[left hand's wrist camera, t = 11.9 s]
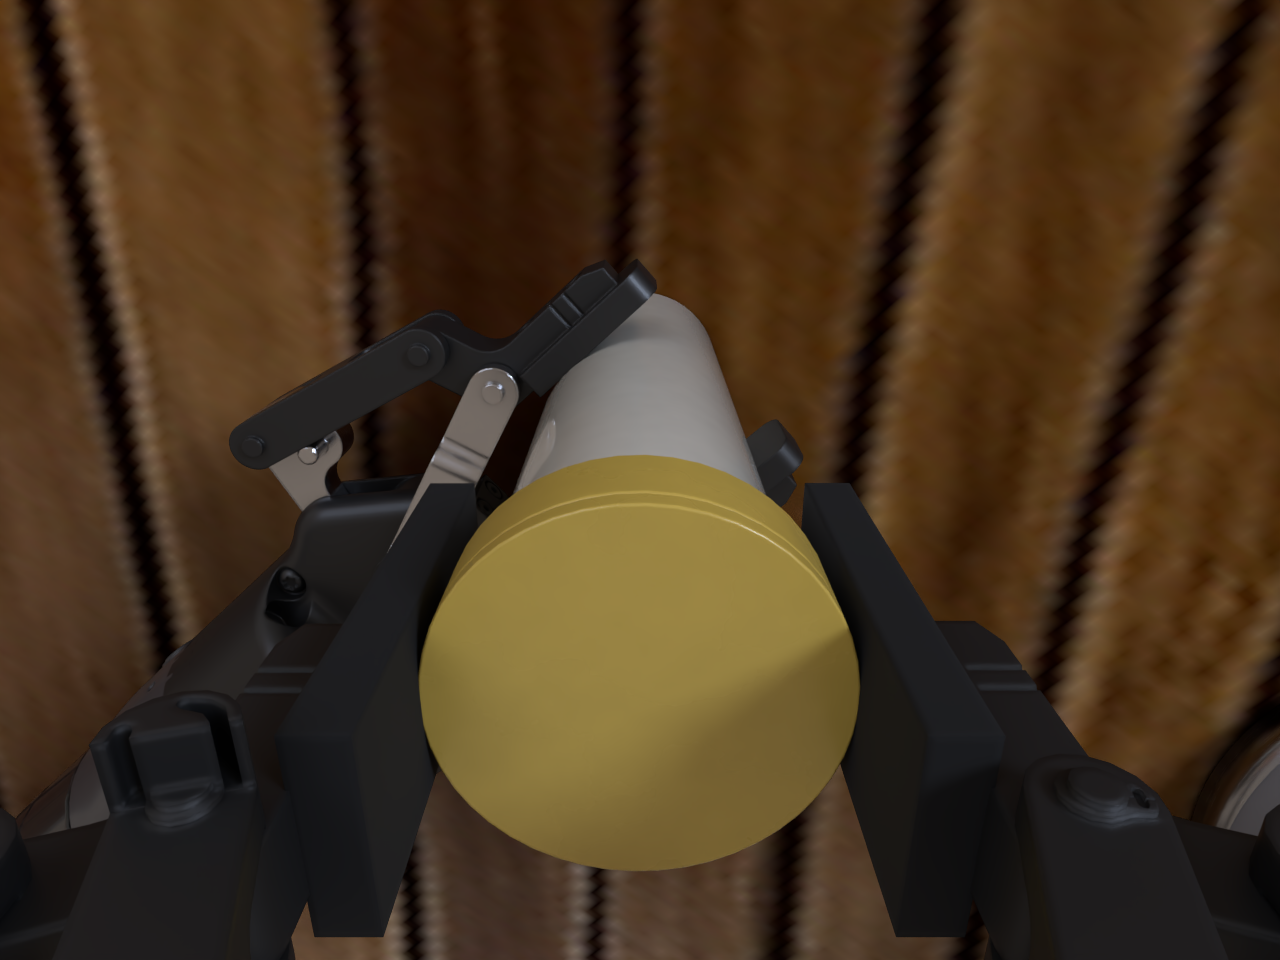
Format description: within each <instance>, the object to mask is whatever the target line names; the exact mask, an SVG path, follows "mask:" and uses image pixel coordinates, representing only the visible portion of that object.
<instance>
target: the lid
mask: <svg viewBox="0 0 1280 960" xmlns="http://www.w3.org/2000/svg"><path fill="white" fill-rule="evenodd" d="M418 682H419V692H420V701H421V709H422V717H423V725H424V731H425V734H426V737H427V740H428V743H429V746H430V748H431V750H432V752H433V754H434V756H435V758H436V760H437V762H438V764H439V766H440V768H441V770H442V771H443V773H444V774H445V776H446V777H447V778H448V780H449V781H450V783H451V784H452V786H453V787H454V789H455V790H456V791H457V792H458V793H459V794H460V795H461V796H462V797H463V799H464V800H465V801H466V802H467V803H468V804H469V805H470V806H471V807H472V808H473V809H474V810H475V811H476V812H478V813H479V814H480V815H481V816H482V817H483V818H485V819H486V820H487V821H488V822H489V823H491V824H492V825H494V826H495V827H497V828H498V829H500V830H501V831H502V832H504V833H505V834H507V835H508V836H510V837H512V838H514V839H516V840H517V841H519V842H521V843H523V844H525V845H527V846H529V847H531V848H533V849H535V850H538V851H540V852H543V853H545V854H548V855H550V856H553V857H556V858H559V859H562V860H566V861H570V862H573V863H577V864H580V865H585V866H591V867H597V868H603V869H611V870H624V871H657V870H667V869H675V868H683V867H688V866H693V865H697V864H701V863H706V862H710V861H713V860H716V859H719V858H722V857H725V856H728V855H731V854H734V853H736V852H738V851H741V850H743V849H745V848H747V847H749V846H751V845H754V844H756V843H758V842H760V841H761V840H763V839H765V838H766V837H768V836H770V835H771V834H773V833H775V832H776V831H778V830H780V829H781V828H782V827H783V826H785V825H786V824H787V823H789V822H790V821H791V820H793V819H794V818H795V817H796V816H798V815H799V814H800V813H801V812H802V811H803V810H804V809H805V808H806V807H807V806H808V805H809V804H810V803H811V802H812V801H813V800H814V799H815V798H816V797H817V796H818V795H819V794H820V792H821V791H822V790H823V788H824V787H825V786H826V785H827V783H828V782H829V781H830V779H831V778H832V777H833V775H834V773H835V771H836V770H837V768H838V766H839V765H840V763H841V761H842V759H843V758H844V756H845V753H846V751H847V748H848V746H849V743H850V741H851V738H852V736H853V732H854V728H855V724H856V719H857V713H858V705H859V696H860V672H859V661H858V657H857V653H856V649H855V645H854V640H853V637H852V634H851V632H850V630H849V627H848V625H847V623H846V620H845V618H844V615H843V613H842V611H841V608H840V606H839V604H838V602H837V599H836V597H835V595H834V592H833V590H832V588H831V585H830V583H829V581H828V578H827V576H826V574H825V571H824V569H823V567H822V564H821V562H820V560H819V557H818V555H817V553H816V552H815V550H814V548H813V547H812V545H811V544H810V542H809V540H808V539H807V537H806V535H805V534H804V533H803V531H802V530H801V529H800V528H799V527H798V525H797V524H796V523H795V522H794V521H793V519H792V518H791V517H790V516H789V515H788V514H787V513H786V512H785V511H784V510H783V509H781V508H780V507H779V506H778V505H777V504H776V503H775V502H774V501H773V500H772V499H770V498H769V497H767V496H766V495H765V494H763V493H762V492H760V491H759V490H757V489H756V488H754V487H753V486H751V485H750V484H748V483H746V482H744V481H742V480H740V479H738V478H736V477H734V476H732V475H730V474H728V473H726V472H724V471H721V470H718V469H715V468H713V467H710V466H707V465H704V464H701V463H697V462H693V461H688V460H683V459H679V458H674V457H665V456H654V455H623V456H613V457H606V458H600V459H594V460H589V461H585V462H582V463H578V464H575V465H571V466H568V467H564V468H562V469H560V470H558V471H555V472H553V473H551V474H548V475H546V476H544V477H541V478H539V479H538V480H536V481H534V482H533V483H531V484H529V485H527V486H526V487H524V488H522V489H521V490H519V491H517V492H516V493H515V494H514V495H512V496H511V497H510V498H509V499H507V500H506V501H505V502H504V503H502V504H501V505H500V506H499V507H497V508H496V509H495V510H494V512H493V513H492V514H491V515H490V516H489V517H488V518H487V519H486V520H485V521H484V522H483V523H482V524H481V525H480V527H479V528H478V529H477V531H476V532H475V534H474V535H473V537H472V538H471V539H470V541H469V542H468V544H467V545H466V547H465V549H464V551H463V553H462V555H461V557H460V559H459V561H458V563H457V565H456V567H455V569H454V571H453V574H452V576H451V578H450V581H449V583H448V585H447V587H446V590H445V592H444V594H443V597H442V599H441V601H440V603H439V606H438V608H437V610H436V613H435V615H434V617H433V619H432V622H431V624H430V626H429V629H428V632H427V635H426V639H425V642H424V645H423V648H422V652H421V658H420V665H419V671H418Z"/></svg>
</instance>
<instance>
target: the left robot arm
mask: <svg viewBox="0 0 1280 960" xmlns="http://www.w3.org/2000/svg"><path fill="white" fill-rule="evenodd" d="M477 529H478V520H477V508H476V496H475V483H430V484H429V486H428V488H427V489H426V491H425V493H424V494H423V496H422V497H421V499H420V501H419V502H418V504H417V505H416V507H415V509H414V510H413V512H412V514H411V515H410V517H409V518H408V520H407V522H406V523H405V525H404V527H403V528H402V530H401V531H400V533H399V535H398V536H397V538H396V539H395V541H394V543H393V544H392V546H391V548H390V549H389V551H388V552H387V554H386V556H385V557H384V559H383V560H382V562H381V564H380V565H379V567H378V569H377V570H376V572H375V573H374V575H373V577H372V578H371V580H370V581H369V583H368V585H367V586H366V588H365V590H364V591H363V593H362V594H361V596H360V598H359V599H358V601H357V603H356V604H355V606H354V607H353V609H352V611H351V612H350V614H349V615H348V617H347V619H346V620H345V622H344V624H304V625H303V626H302V627H300V628H299V629H297V630H296V631H294V632H293V633H291V634H290V635H289V636H287V637H286V638H284V639H283V640H281V641H280V642H278V643H277V644H276V645H275V646H274V647H273V649H272V650H271V652H270V653H269V654H268V656H267V657H266V658H265V660H264V661H263V663H262V664H261V665H260V667H259V668H258V673H254V675H253V676H252V678H251V679H250V680H249V682H248V683H247V684H246V686H245V687H244V692H243V693H240V694H239V695H238V697H237V698H236V700H234V699H233V698H232V697H231V696H229V695H228V694H223V693H219V692H214V691H210V690H198V691H181V692H177V693H173V694H169V695H165V696H161V697H157V698H153V699H151V700H149V701H147V702H144V703H142V704H140V705H138V706H135V707H133V708H131V709H129V710H126V711H125V712H123V713H122V714H121V715H119V716H118V717H116V718H115V719H113V720H112V721H111V722H109V723H108V724H106V725H105V726H104V727H103V728H102V729H101V730H100V731H99V733H98V734H97V735H96V737H95V738H94V739H93V740H92V742H91V743H90V744H89V747H90V750H91V753H92V757H93V760H94V763H95V766H96V770H97V773H98V776H99V779H100V783H101V786H102V789H103V792H104V796H105V799H106V802H107V806H108V809H109V812H110V815H109V817H108V819H106V820H103V821H99V822H96V823H92V824H89V825H85V826H80V827H76V828H71V829H67V830H62V831H58V832H54V833H49V834H45V835H40V836H36V837H32V838H27V839H22V836H21V833H20V831H19V828H18V825H17V822H16V820H15V818H14V817H13V816H12V815H10V814H9V813H8V812H6V811H5V810H4V809H3V808H0V960H295V954H294V949H293V944H292V940H291V936H292V934H293V932H294V929H295V927H296V925H297V923H298V920H299V918H300V916H301V914H302V911H303V909H304V907H305V904H306V902H308V907H309V912H310V917H311V922H312V927H313V932H314V937H383V936H384V933H385V930H386V927H387V924H388V921H389V918H390V915H391V912H392V909H393V906H394V902H395V899H396V896H397V893H398V890H399V887H400V884H401V881H402V878H403V875H404V871H405V868H406V865H407V862H408V859H409V856H410V853H411V850H412V847H413V844H414V841H415V837H416V834H417V831H418V828H419V825H420V822H421V819H422V816H423V813H424V810H425V807H426V803H427V800H428V797H429V794H430V791H431V788H432V785H433V782H434V779H435V776H436V773H437V769H438V766H439V764H438V762H437V760H436V758H435V756H434V754H433V752H432V750H431V748H430V746H429V743H428V740H427V737H426V734H425V731H424V725H423V717H422V709H421V701H420V692H419V682H418V671H419V665H420V658H421V652H422V648H423V645H424V642H425V639H426V635H427V632H428V629H429V626H430V624H431V622H432V619H433V617H434V615H435V613H436V610H437V608H438V606H439V603H440V601H441V599H442V597H443V594H444V592H445V590H446V587H447V585H448V583H449V581H450V578H451V576H452V574H453V571H454V569H455V567H456V565H457V563H458V561H459V559H460V557H461V555H462V553H463V551H464V549H465V547H466V545H467V544H468V542H469V541H470V539H471V538H472V537H473V535H474V534H475V532H476V531H477ZM801 530H802V531H803V533H804V534H805V535H806V537H807V539H808V540H809V542H810V544H811V545H812V547H813V548H814V550H815V552H816V553H817V555H818V557H819V560H820V562H821V564H822V567H823V569H824V571H825V574H826V576H827V578H828V581H829V583H830V585H831V588H832V590H833V592H834V595H835V597H836V599H837V602H838V604H839V606H840V608H841V611H842V613H843V615H844V618H845V620H846V623H847V625H848V627H849V630H850V632H851V634H852V637H853V640H854V645H855V649H856V653H857V657H858V661H859V672H860V696H859V705H858V713H857V719H856V724H855V728H854V732H853V736H852V738H851V741H850V743H849V746H848V748H847V751H846V753H845V756H844V758H843V759H842V761H841V763H840V765H841V768H842V771H843V774H844V777H845V780H846V783H847V786H848V789H849V792H850V796H851V799H852V802H853V805H854V808H855V811H856V814H857V817H858V820H859V823H860V826H861V830H862V833H863V836H864V839H865V842H866V845H867V848H868V851H869V854H870V857H871V861H872V864H873V867H874V870H875V873H876V876H877V879H878V882H879V885H880V888H881V891H882V895H883V898H884V901H885V904H886V907H887V910H888V913H889V916H890V919H891V922H892V925H893V929H894V932H895V935H896V937H965V934H966V929H967V924H968V919H969V915H970V910H971V905H972V900H973V899H974V901H975V904H976V906H977V908H978V910H979V913H980V915H981V917H982V920H983V922H984V924H985V926H986V929H987V931H988V933H989V940H988V944H987V949H986V953H985V958H984V960H1280V705H1278V706H1277V707H1275V708H1274V709H1273V710H1272V711H1270V712H1269V713H1268V714H1266V715H1265V716H1264V717H1262V718H1261V719H1260V720H1259V721H1258V722H1256V723H1255V724H1254V725H1253V726H1252V727H1251V728H1250V729H1249V730H1248V731H1246V732H1245V733H1244V734H1243V735H1242V736H1241V737H1240V739H1239V740H1238V741H1237V742H1236V743H1235V744H1234V745H1233V746H1232V747H1231V748H1230V749H1229V751H1228V752H1227V753H1226V754H1225V756H1224V757H1223V758H1222V759H1221V761H1220V762H1219V763H1218V765H1217V766H1216V768H1215V769H1214V771H1213V772H1212V774H1211V775H1210V777H1209V779H1208V780H1207V782H1206V784H1205V786H1204V788H1203V790H1202V792H1201V794H1200V796H1199V799H1198V801H1197V804H1196V806H1195V810H1194V813H1193V817H1192V820H1191V821H1189V820H1186V819H1182V818H1179V817H1175V816H1172V815H1171V813H1170V812H1169V810H1168V809H1167V807H1166V806H1165V804H1164V803H1163V801H1162V800H1161V798H1160V797H1159V795H1158V794H1157V793H1156V792H1155V791H1154V790H1152V789H1151V788H1150V787H1149V786H1148V785H1146V784H1145V783H1144V782H1143V781H1141V780H1140V779H1139V778H1138V777H1136V776H1135V775H1133V774H1131V773H1129V772H1127V771H1125V770H1123V769H1121V768H1119V767H1117V766H1115V765H1113V764H1111V763H1108V762H1105V761H1101V760H1098V759H1094V758H1091V757H1088V755H1087V754H1086V752H1085V751H1084V750H1083V748H1082V747H1081V746H1080V744H1079V743H1078V742H1077V740H1076V739H1075V737H1074V736H1073V735H1072V733H1071V732H1070V731H1069V729H1068V728H1067V727H1066V725H1065V724H1064V722H1063V721H1062V720H1061V718H1060V717H1059V716H1058V714H1057V713H1056V712H1055V710H1054V709H1053V707H1052V706H1051V705H1050V703H1049V702H1048V701H1047V699H1046V698H1045V697H1044V695H1043V694H1042V692H1041V691H1037V689H1036V684H1035V683H1034V682H1033V680H1032V679H1031V677H1030V676H1029V675H1028V673H1027V672H1026V671H1025V670H1022V665H1021V664H1020V662H1019V661H1018V660H1017V658H1016V657H1015V656H1014V654H1013V653H1012V652H1011V650H1010V649H1009V647H1008V646H1007V645H1006V643H1005V642H1004V641H1003V640H1001V639H1000V638H998V637H997V636H995V635H994V634H992V633H991V632H990V631H988V630H987V629H985V628H984V627H982V626H981V625H979V624H978V623H976V622H975V621H934V619H933V618H932V616H931V615H930V613H929V611H928V610H927V608H926V607H925V605H924V603H923V602H922V600H921V598H920V597H919V595H918V594H917V592H916V590H915V589H914V587H913V585H912V584H911V582H910V581H909V579H908V577H907V576H906V574H905V573H904V571H903V569H902V568H901V566H900V564H899V563H898V561H897V560H896V558H895V556H894V555H893V553H892V552H891V550H890V548H889V547H888V545H887V543H886V542H885V540H884V539H883V537H882V535H881V534H880V532H879V530H878V529H877V527H876V526H875V524H874V522H873V521H872V519H871V518H870V516H869V514H868V513H867V511H866V509H865V508H864V506H863V505H862V503H861V501H860V500H859V498H858V497H857V495H856V493H855V492H854V490H853V488H852V487H851V485H850V484H849V483H805V490H804V503H803V515H802V528H801Z"/></svg>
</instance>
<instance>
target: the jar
mask: <svg viewBox="0 0 1280 960" xmlns="http://www.w3.org/2000/svg"><path fill="white" fill-rule="evenodd" d="M623 455H654V456H665V457H674V458H679V459H683V460H688V461H693V462H697V463H701V464H704V465H707V466H710V467H713V468H715V469H718V470H721V471H724V472H726V473H728V474H730V475H732V476H734V477H736V478H738V479H740V480H742V481H744V482H746V483H748V484H750V485H751V486H753V487H754V488H756V489H757V490H759V491H760V492H762V493H763V494H765V495H766V493H765V491H764V488H763V485H762V482H761V480H760V477H759V474H758V471H757V468H756V466H755V463H754V460H753V457H752V455H751V452H750V449H749V446H748V444H747V441H746V438H745V435H744V432H743V430H742V427H741V424H740V421H739V419H738V416H737V413H736V410H735V407H734V405H733V402H732V399H731V396H730V394H729V391H728V388H727V385H726V383H725V380H724V377H723V374H722V371H721V369H720V366H719V363H718V360H717V358H716V355H715V352H714V349H713V346H712V344H711V341H710V338H709V336H708V334H707V332H706V330H705V328H704V327H703V325H702V324H701V322H700V321H699V320H698V319H697V318H696V317H695V315H694V314H693V313H692V312H690V311H689V310H688V309H687V308H686V307H684V306H683V305H681V304H680V303H678V302H676V301H674V300H672V299H670V298H668V297H665V296H662V295H658V294H653V295H652V296H651V297H650V298H649V299H648V300H647V301H646V302H645V303H644V304H643V305H642V306H641V307H640V308H639V309H638V310H636V311H635V312H634V313H633V314H632V315H631V316H630V317H629V318H628V319H626V320H625V321H624V322H623V323H622V324H621V325H620V326H619V327H618V328H617V329H615V330H614V331H613V332H612V333H611V334H610V335H609V336H608V337H607V338H605V339H604V340H603V341H602V342H601V343H600V344H599V345H598V346H597V347H596V348H594V349H593V350H592V351H591V352H590V353H589V354H588V355H587V356H586V357H585V358H583V359H582V360H581V361H580V362H579V363H578V364H577V365H575V366H574V367H573V368H571V369H570V370H569V371H568V372H567V373H566V374H565V375H564V376H563V377H562V378H561V379H560V380H559V381H558V382H557V383H556V384H555V385H554V386H553V387H552V388H551V391H550V394H549V396H548V399H547V402H546V405H545V407H544V410H543V413H542V416H541V418H540V421H539V424H538V427H537V429H536V432H535V435H534V437H533V440H532V443H531V446H530V448H529V451H528V454H527V457H526V459H525V462H524V465H523V468H522V470H521V473H520V476H519V479H518V481H517V484H516V487H515V489H514V492H513V495H514V494H515V493H516V492H517V491H519V490H521V489H522V488H524V487H526V486H527V485H529V484H531V483H533V482H534V481H536V480H538V479H539V478H541V477H544V476H546V475H548V474H551V473H553V472H555V471H558V470H560V469H562V468H564V467H568V466H571V465H575V464H578V463H582V462H585V461H589V460H594V459H600V458H606V457H613V456H623Z"/></svg>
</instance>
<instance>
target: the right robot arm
mask: <svg viewBox="0 0 1280 960" xmlns="http://www.w3.org/2000/svg"><path fill="white" fill-rule="evenodd" d="M656 289H657V284H656V280H655V278H654V277H653V276H652V275H651V274H650V273H649V272H648V270H647V269H646V268H645V267H644V266H643V265H642V264H641V262H640V261H639V260H638V259H635V260H634V261H633V262H631V263H630V264H629V265H628V266H627V267H626V268H624V269H623V270H622V271H621V272H620V273H619V274H618V273H617V272H616V271H615V270H614V269H613V268H612V267H611V265H610V264H609V263H608V262H607V261H606V260H603V261H601V262H598V263H595V264H593V265H590V266H588V267H585V268H584V269H583V270H582V271H581V272H580V273H578V274H577V275H576V276H575V277H574V278H573V279H572V280H571V281H570V282H569V283H568V284H567V285H566V286H565V287H564V288H563V289H562V290H560V291H559V292H558V293H557V294H556V295H555V296H554V297H553V298H552V299H551V300H550V301H549V302H548V303H547V304H546V305H545V306H544V307H542V308H541V309H540V310H539V311H538V312H537V313H536V314H535V315H534V316H533V317H532V318H531V319H530V320H529V321H528V322H527V323H525V324H524V325H523V326H522V327H521V328H520V329H519V330H518V331H517V332H516V333H514V334H513V335H511V336H509V337H506V338H501V339H493V338H488V337H485V336H483V335H481V334H479V333H477V332H475V331H473V330H471V329H469V328H467V327H465V326H464V325H463V323H462V322H461V320H460V319H459V318H458V317H457V316H456V315H455V314H453V313H451V312H449V311H446V310H434V311H431V312H429V313H427V314H426V315H424V316H422V317H420V318H419V319H417V320H415V321H413V322H411V323H410V324H408V325H406V326H404V327H403V328H401V329H399V330H397V331H396V332H394V333H392V334H390V335H388V336H387V337H385V338H383V339H381V340H380V341H378V342H376V343H374V344H372V345H371V346H369V347H367V348H365V349H364V350H362V351H360V352H358V353H357V354H355V355H353V356H351V357H349V358H348V359H346V360H344V361H342V362H341V363H339V364H337V365H335V366H334V367H332V368H330V369H328V370H326V371H325V372H323V373H321V374H319V375H318V376H316V377H314V378H312V379H310V380H309V381H307V382H305V383H303V384H302V385H300V386H298V387H296V388H295V389H293V390H291V391H289V392H287V393H286V394H284V395H282V396H280V397H279V398H277V399H276V400H274V401H273V402H272V403H270V404H269V405H267V406H266V407H264V408H263V409H261V410H260V411H258V412H257V413H256V414H254V415H253V416H251V417H250V418H248V419H247V420H246V421H244V422H243V423H241V424H240V425H239V426H237V427H236V428H235V429H234V430H233V431H232V433H231V435H230V439H229V445H230V449H231V452H232V454H233V456H234V457H235V458H236V459H237V460H238V461H239V462H240V463H241V464H243V465H244V466H246V467H249V468H252V469H265V468H268V467H269V468H270V469H271V471H272V472H273V473H274V475H275V476H276V477H277V479H278V480H279V481H280V483H281V484H282V485H283V487H284V488H285V489H286V491H287V492H288V493H289V495H290V496H291V497H292V499H293V500H294V501H295V503H296V504H297V505H298V507H299V508H300V509H301V511H302V513H301V514H300V516H299V518H298V520H297V522H296V526H295V531H294V536H293V540H292V543H291V545H290V548H289V549H288V550H287V551H286V552H285V553H284V554H283V555H282V556H281V557H279V558H278V559H277V560H276V561H275V562H274V563H273V564H272V565H271V566H270V567H269V568H268V569H267V570H266V571H265V572H264V573H262V574H261V575H260V576H259V577H258V578H257V579H256V580H255V581H254V582H253V583H252V584H251V585H250V586H249V587H248V588H247V589H246V590H244V591H243V592H242V593H241V594H240V595H239V596H238V597H237V598H236V599H235V600H234V601H233V602H232V603H231V604H230V605H229V606H228V607H226V608H225V609H224V610H223V611H222V612H221V613H220V614H219V615H218V616H217V617H216V618H215V619H214V620H213V621H211V622H210V623H209V624H208V625H207V626H206V627H205V628H204V629H203V630H202V631H201V632H200V633H199V634H198V635H197V636H196V637H195V638H194V639H192V640H190V641H189V642H187V643H185V644H184V645H183V646H181V647H180V648H178V649H177V650H176V651H175V652H173V653H172V654H171V655H170V656H169V657H168V658H167V659H166V660H165V663H164V664H163V666H162V668H161V669H160V670H159V671H158V672H157V673H156V674H155V675H154V676H153V677H152V678H151V679H150V680H149V681H148V682H147V683H145V684H144V685H143V686H142V687H141V688H140V689H139V690H138V691H137V692H136V693H135V694H134V695H133V697H132V698H131V699H130V700H129V701H128V702H127V703H126V704H125V706H124V707H123V708H122V709H121V710H120V712H119V713H118V714H117V716H116V717H118V716H119V715H121V714H122V713H123V712H125V711H126V710H129V709H131V708H133V707H135V706H138V705H140V704H142V703H144V702H147V701H149V700H151V699H153V698H157V697H161V696H165V695H169V694H173V693H177V692H181V691H198V690H210V691H214V692H219V693H223V694H228V695H229V696H231V697H232V698H233V699H234V700H236V698H237V697H238V695H239V694H240V693H243V692H244V687H245V686H246V684H247V683H248V682H249V680H250V679H251V678H252V676H253V675H254V673H258V668H259V667H260V665H261V664H262V663H263V661H264V660H265V658H266V657H267V656H268V654H269V653H270V652H271V650H272V649H273V647H274V646H275V645H276V644H277V643H278V642H280V641H281V640H283V639H284V638H286V637H287V636H289V635H290V634H291V633H293V632H294V631H296V630H297V629H299V628H300V627H302V626H303V625H304V624H344V622H345V620H346V619H347V617H348V615H349V614H350V612H351V611H352V609H353V607H354V606H355V604H356V603H357V601H358V599H359V598H360V596H361V594H362V593H363V591H364V590H365V588H366V586H367V585H368V583H369V581H370V580H371V578H372V577H373V575H374V573H375V572H376V570H377V569H378V567H379V565H380V564H381V562H382V560H383V559H384V557H385V556H386V554H387V552H388V551H389V549H390V548H391V546H392V544H393V543H394V541H395V539H396V538H397V536H398V535H399V533H400V531H401V530H402V528H403V527H404V525H405V523H406V522H407V520H408V518H409V517H410V515H411V514H412V512H413V510H414V509H415V507H416V505H417V504H418V502H419V501H420V499H421V497H422V496H423V494H424V493H425V491H426V489H427V488H428V486H429V484H430V483H475V496H476V508H477V520H478V528H479V527H480V525H481V524H482V523H483V522H484V521H485V520H486V519H487V518H488V517H489V516H490V515H491V514H492V513H493V512H494V510H495V509H496V508H497V507H499V506H500V505H501V504H502V503H504V502H505V501H506V500H507V499H509V498H508V496H507V495H506V493H505V492H504V491H503V490H502V489H501V488H500V487H499V486H498V485H497V484H495V483H494V482H493V481H492V480H491V479H490V478H489V477H488V476H487V475H484V476H483V477H482V478H481V479H480V477H481V475H482V473H483V471H484V469H485V466H486V464H487V462H488V460H489V458H490V456H491V454H492V452H493V450H494V448H495V446H496V444H497V442H498V440H499V438H500V436H501V434H502V432H503V430H504V428H505V426H506V424H507V422H508V420H509V418H510V416H511V414H512V412H513V410H514V408H515V407H516V406H517V405H518V404H519V403H520V402H522V401H523V400H524V399H525V398H526V397H527V396H528V395H529V394H530V393H531V392H533V391H535V392H536V393H537V394H538V395H539V396H540V397H541V396H543V395H544V394H545V393H546V392H547V391H548V390H549V389H550V388H551V387H553V386H554V385H555V384H556V383H557V382H558V381H559V380H560V379H561V378H562V377H563V376H564V375H565V374H566V373H567V372H568V371H569V370H570V369H571V368H573V367H574V366H575V365H577V364H578V363H579V362H580V361H581V360H582V359H583V358H585V357H586V356H587V355H588V354H589V353H590V352H591V351H592V350H593V349H594V348H596V347H597V346H598V345H599V344H600V343H601V342H602V341H603V340H604V339H605V338H607V337H608V336H609V335H610V334H611V333H612V332H613V331H614V330H615V329H617V328H618V327H619V326H620V325H621V324H622V323H623V322H624V321H625V320H626V319H628V318H629V317H630V316H631V315H632V314H633V313H634V312H635V311H636V310H638V309H639V308H640V307H641V306H642V305H643V304H644V303H645V302H646V301H647V300H648V299H649V298H650V297H651V296H652V295H653V294H654V292H655V291H656ZM427 380H430V381H432V382H434V383H436V384H438V385H440V386H442V387H444V388H446V389H448V390H450V391H452V392H454V393H456V394H458V395H460V396H462V399H461V401H460V403H459V405H458V407H457V409H456V411H455V413H454V416H453V418H452V420H451V422H450V424H449V426H448V428H447V430H446V433H445V435H444V437H443V439H442V441H441V443H440V445H439V446H438V448H437V450H436V452H435V454H434V456H433V458H432V460H431V462H430V464H429V466H428V468H427V470H426V472H425V473H420V474H410V475H400V476H390V477H380V478H370V479H359V480H349V481H342V482H341V481H340V479H339V477H338V474H337V463H338V460H339V459H340V458H341V457H342V456H343V455H344V454H345V453H346V452H347V451H348V450H349V449H350V448H351V446H352V444H353V440H354V433H353V430H352V427H351V425H350V424H349V423H351V422H353V421H354V420H356V419H358V418H360V417H362V416H363V415H365V414H367V413H369V412H371V411H373V410H374V409H376V408H378V407H380V406H382V405H384V404H385V403H387V402H389V401H391V400H393V399H395V398H396V397H398V396H400V395H402V394H404V393H405V392H407V391H409V390H411V389H413V388H415V387H416V386H418V385H420V384H422V383H424V382H426V381H427ZM746 441H747V444H748V446H749V449H750V452H751V455H752V457H753V460H754V463H755V466H756V468H757V471H758V474H759V477H760V480H761V482H762V485H763V488H764V491H765V493H766V496H767V497H769V498H770V499H772V500H773V501H774V502H775V503H776V504H777V505H778V506H779V507H781V506H783V505H784V504H785V503H786V502H787V500H788V499H789V497H790V496H791V494H792V492H793V491H794V489H795V487H796V486H797V485H796V482H795V480H794V478H793V476H792V473H793V472H794V471H795V470H796V469H797V468H798V467H799V465H800V464H801V462H802V460H803V455H802V453H801V451H800V449H799V447H798V445H797V443H796V441H795V439H794V438H793V437H792V436H791V435H790V434H789V432H788V431H787V430H786V429H785V428H784V427H783V426H782V424H781V423H780V422H779V421H778V420H772V421H769V422H768V423H766V424H764V425H763V426H762V427H760V428H759V429H758V430H757V431H755V432H754V433H753V434H752V435H751V436H749V437H748V438H747V439H746ZM116 717H115V718H116ZM115 718H114V719H115ZM440 771H441V768H440V766H438V769H437V773H438V772H440ZM437 773H436V774H437ZM109 815H110V812H109V809H108V806H107V802H106V799H105V796H104V792H103V789H102V786H101V783H100V779H99V776H98V773H97V770H96V766H95V763H94V760H93V757H92V753H91V750H90V748H89V749H88V750H87V751H86V752H85V753H84V754H83V755H81V756H80V757H79V758H78V759H77V760H76V761H75V762H74V763H73V764H72V765H71V766H70V767H69V768H68V769H66V770H65V771H64V772H63V773H62V774H61V775H60V776H59V777H58V778H57V779H56V780H55V781H54V782H53V783H52V784H51V785H50V786H48V787H47V788H46V789H45V790H44V791H43V792H42V793H40V794H39V795H38V796H37V797H36V798H35V799H34V800H33V801H32V802H31V803H30V804H29V805H28V806H27V807H26V808H25V809H24V810H23V811H22V812H21V813H20V814H19V815H18V816H17V818H16V819H15V820H16V822H17V825H18V828H19V831H20V833H21V836H22V839H27V838H32V837H36V836H40V835H45V834H49V833H54V832H58V831H62V830H67V829H71V828H76V827H80V826H85V825H89V824H92V823H96V822H99V821H103V820H106V819H108V817H109Z"/></svg>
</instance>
